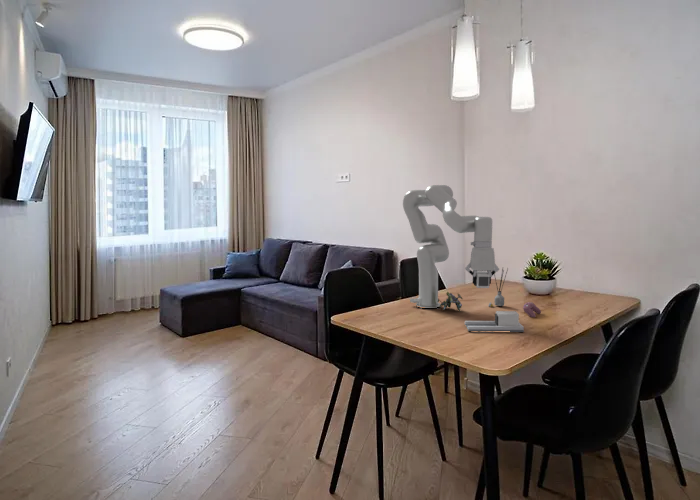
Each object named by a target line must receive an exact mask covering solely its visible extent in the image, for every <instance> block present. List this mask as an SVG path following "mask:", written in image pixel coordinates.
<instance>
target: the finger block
mask: <svg viewBox="0 0 700 500" xmlns="http://www.w3.org/2000/svg"><path fill="white" fill-rule="evenodd" d="M476 277H477V285H476V286H475V287H476V288H477V289H489V288H490V286H489V277H490V274H488V273H487V271H477V274H476Z"/></svg>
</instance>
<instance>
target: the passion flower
mask: <svg viewBox="0 0 700 500" xmlns="http://www.w3.org/2000/svg"><path fill="white" fill-rule="evenodd" d="M456 294H457V297H456V296H455V295H454V294H453V293H452V292H449V291H446V296H447V297H446V299H445V300H443V301H442V300H440V298H438V303H440V302H441V303H440V304H441V305H440V306H439V307H440V308H441V307H443V310H446V309H448V307H450V308H451V307H452V304H455V307H456V309H457V311H458V310H459V311H458V312H461V311H460V310H461V308H462V306H463V304H462V303H461V301H460V300H459V299H461V300H463V299H464V298H463V296H462V295H461V294H459V292H458V293H456Z"/></svg>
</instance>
